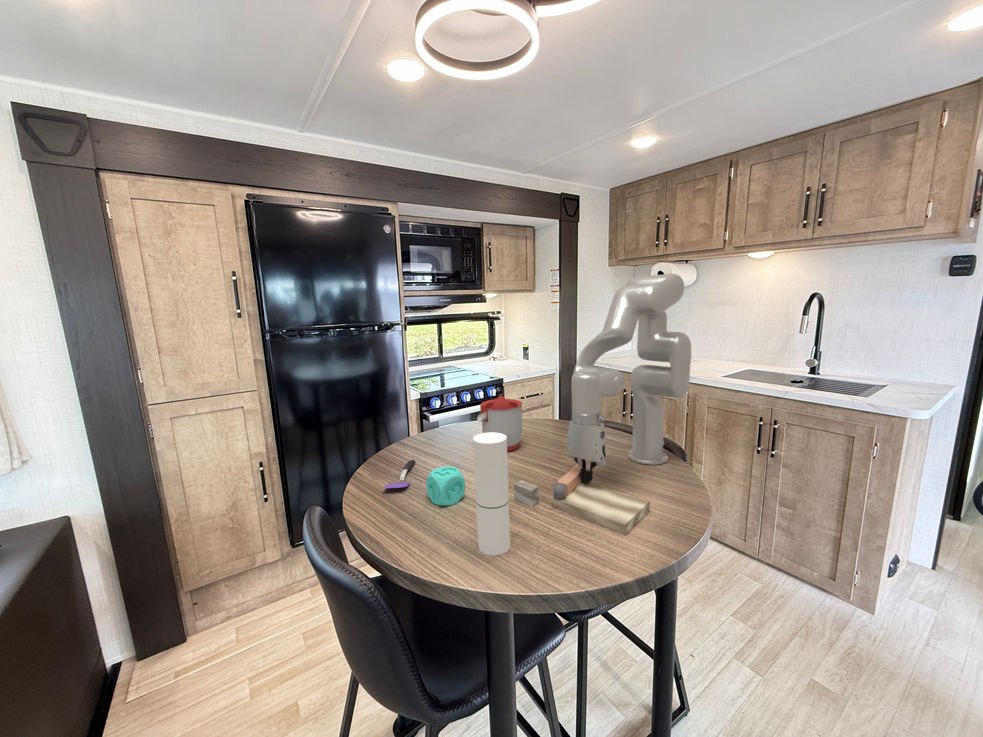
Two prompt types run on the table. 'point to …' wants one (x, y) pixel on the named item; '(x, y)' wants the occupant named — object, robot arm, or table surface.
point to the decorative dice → (445, 486)
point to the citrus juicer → (503, 419)
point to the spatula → (402, 476)
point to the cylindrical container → (492, 492)
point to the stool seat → (592, 504)
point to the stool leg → (567, 483)
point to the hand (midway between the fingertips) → (586, 481)
